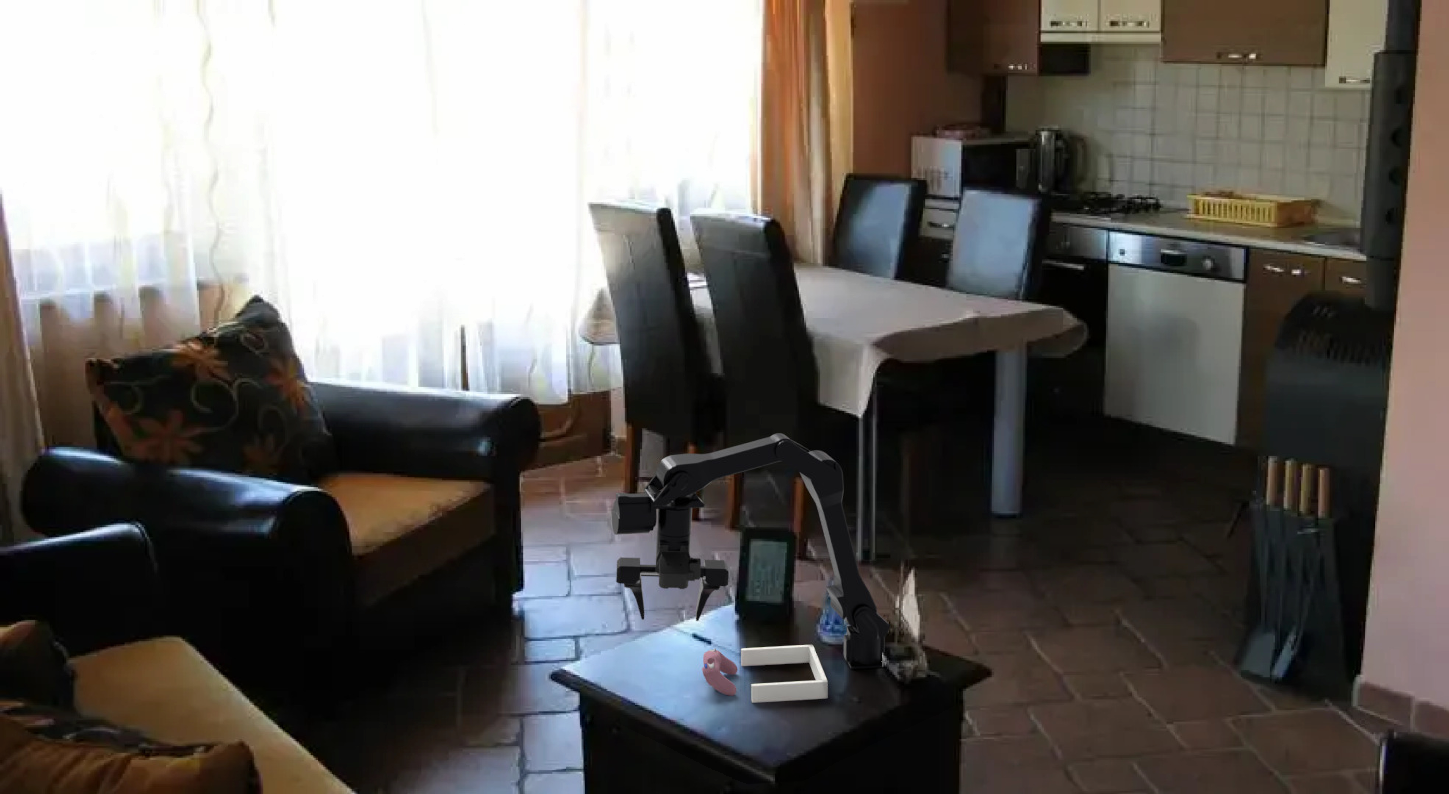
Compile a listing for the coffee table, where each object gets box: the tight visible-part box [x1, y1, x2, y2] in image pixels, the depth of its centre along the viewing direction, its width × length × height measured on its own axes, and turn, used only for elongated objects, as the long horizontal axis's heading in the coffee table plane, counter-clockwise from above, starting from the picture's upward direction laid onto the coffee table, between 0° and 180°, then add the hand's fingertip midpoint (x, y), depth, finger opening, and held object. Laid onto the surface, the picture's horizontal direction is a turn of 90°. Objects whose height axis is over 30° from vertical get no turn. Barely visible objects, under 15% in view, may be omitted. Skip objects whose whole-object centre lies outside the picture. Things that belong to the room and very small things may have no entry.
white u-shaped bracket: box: [740, 644, 829, 704], centre depth 259 cm, size 13×16×3 cm
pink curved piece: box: [701, 648, 738, 697], centre depth 258 cm, size 10×5×7 cm, turn 178°
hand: (670, 619), depth 255 cm, fingers open, 9 cm apart
